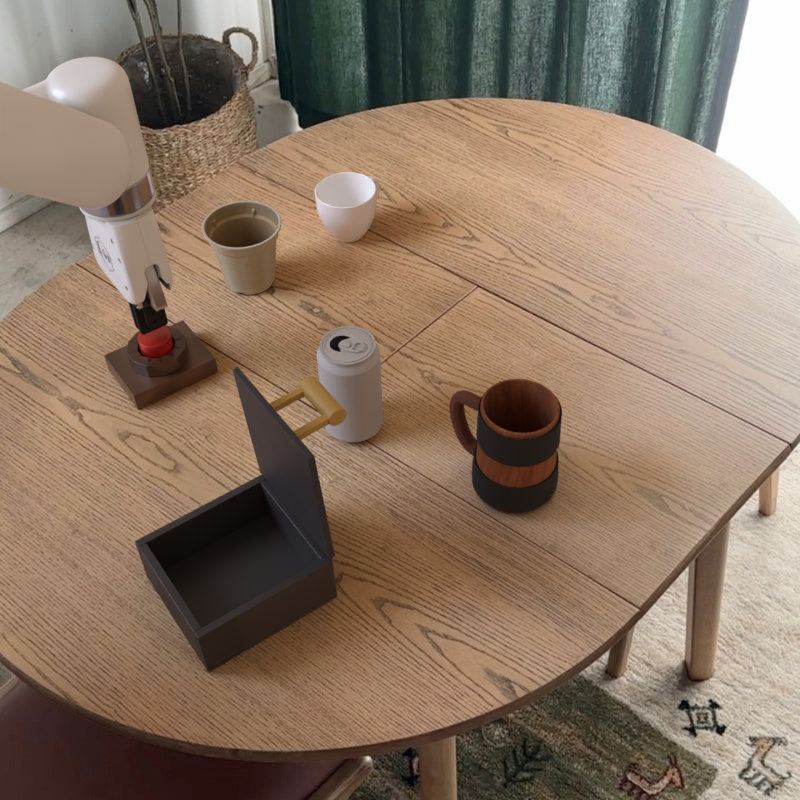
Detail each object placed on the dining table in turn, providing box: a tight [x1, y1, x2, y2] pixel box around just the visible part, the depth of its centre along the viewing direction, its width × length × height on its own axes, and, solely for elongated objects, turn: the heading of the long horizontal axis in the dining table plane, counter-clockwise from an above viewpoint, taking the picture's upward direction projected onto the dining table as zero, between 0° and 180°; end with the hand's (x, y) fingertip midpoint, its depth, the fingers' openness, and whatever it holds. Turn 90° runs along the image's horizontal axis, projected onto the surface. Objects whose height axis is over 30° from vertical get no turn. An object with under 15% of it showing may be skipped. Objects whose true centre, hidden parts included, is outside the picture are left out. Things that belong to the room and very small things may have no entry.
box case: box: [134, 474, 338, 673], centre depth 98 cm, size 14×13×6 cm
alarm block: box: [103, 319, 219, 411], centre depth 119 cm, size 10×8×4 cm
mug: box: [448, 378, 563, 515], centre depth 104 cm, size 9×12×12 cm
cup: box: [314, 171, 381, 243], centre depth 136 cm, size 8×10×7 cm
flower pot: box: [201, 199, 283, 296], centre depth 128 cm, size 9×9×9 cm
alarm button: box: [138, 326, 173, 358], centre depth 118 cm, size 4×4×2 cm
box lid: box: [232, 366, 347, 560], centre depth 94 cm, size 14×13×6 cm
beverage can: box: [316, 325, 384, 443], centre depth 110 cm, size 6×6×12 cm
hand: (152, 325), depth 116 cm, fingers closed
